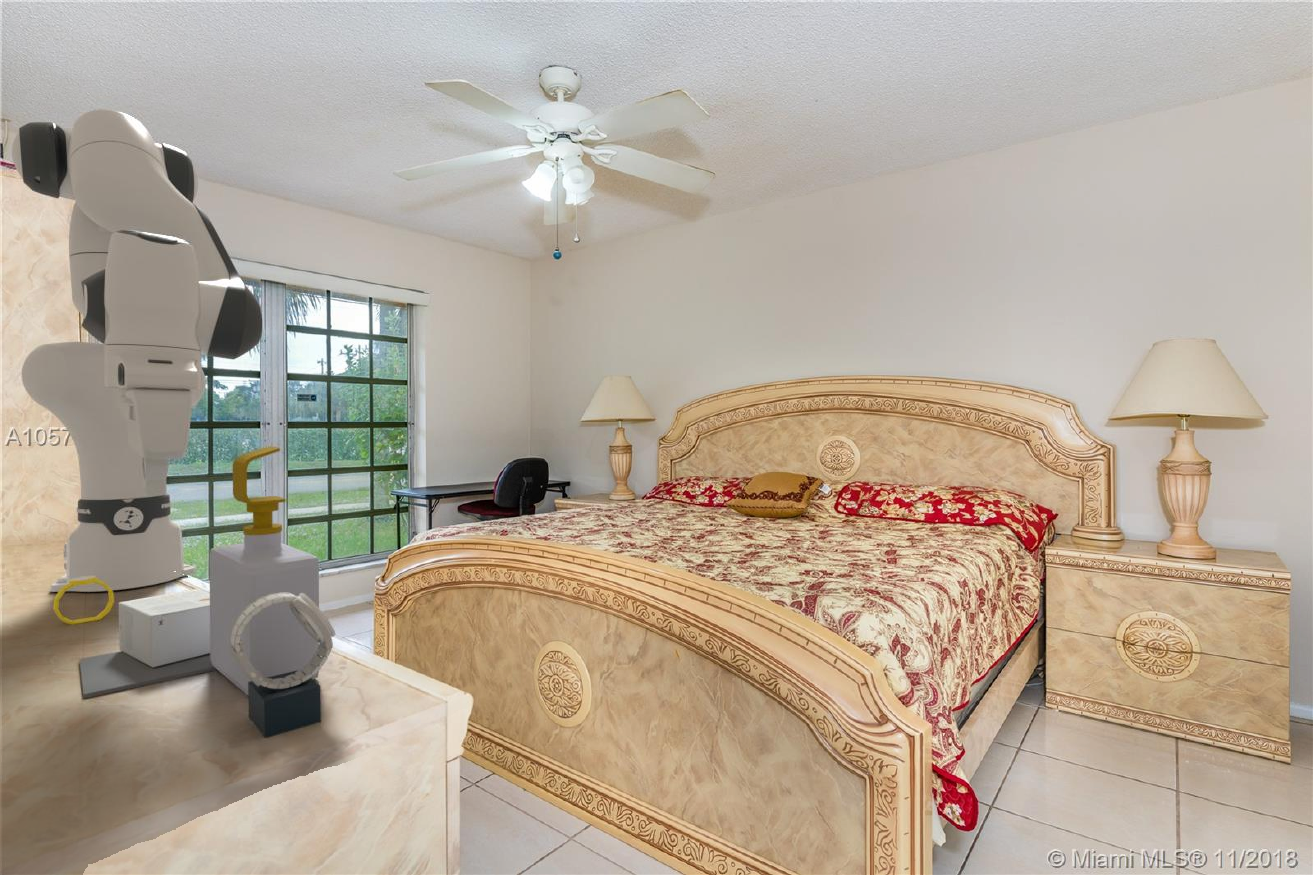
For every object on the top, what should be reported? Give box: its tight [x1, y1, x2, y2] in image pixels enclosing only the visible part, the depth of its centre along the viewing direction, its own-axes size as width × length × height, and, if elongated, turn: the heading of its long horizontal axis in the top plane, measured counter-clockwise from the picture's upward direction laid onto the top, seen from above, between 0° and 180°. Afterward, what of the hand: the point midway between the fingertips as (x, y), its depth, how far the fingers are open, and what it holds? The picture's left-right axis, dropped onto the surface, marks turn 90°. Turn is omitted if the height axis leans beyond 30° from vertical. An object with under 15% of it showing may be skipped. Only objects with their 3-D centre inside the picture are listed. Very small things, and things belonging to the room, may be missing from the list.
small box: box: [118, 588, 210, 668], centre depth 76 cm, size 8×6×10 cm
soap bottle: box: [208, 445, 320, 696], centre depth 68 cm, size 12×7×23 cm, turn 49°
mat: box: [78, 650, 218, 699], centre depth 73 cm, size 13×14×1 cm
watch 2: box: [229, 592, 336, 739], centre depth 58 cm, size 6×8×11 cm
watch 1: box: [52, 575, 115, 626], centre depth 88 cm, size 6×3×6 cm, turn 138°
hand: (154, 494), depth 76 cm, fingers closed
